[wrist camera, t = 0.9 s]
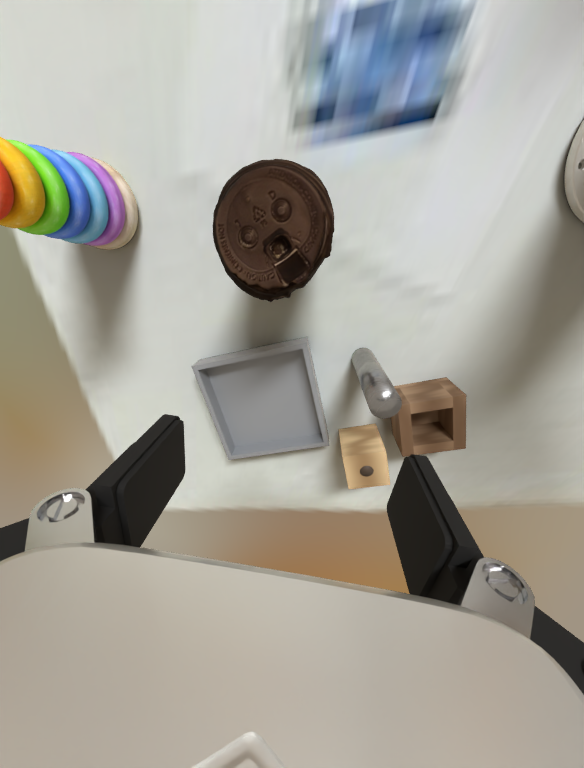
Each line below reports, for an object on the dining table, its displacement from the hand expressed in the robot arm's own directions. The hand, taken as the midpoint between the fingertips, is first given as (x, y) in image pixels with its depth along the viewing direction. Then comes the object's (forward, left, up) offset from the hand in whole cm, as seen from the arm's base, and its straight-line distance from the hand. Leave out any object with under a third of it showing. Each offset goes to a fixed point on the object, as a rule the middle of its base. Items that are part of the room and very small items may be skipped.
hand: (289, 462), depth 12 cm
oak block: (-4, +16, -23) cm, 29 cm away
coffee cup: (0, -10, -23) cm, 25 cm away
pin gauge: (-6, +4, -23) cm, 24 cm away
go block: (-12, +12, -23) cm, 29 cm away
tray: (+7, +7, -23) cm, 25 cm away
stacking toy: (+18, -18, -23) cm, 34 cm away
